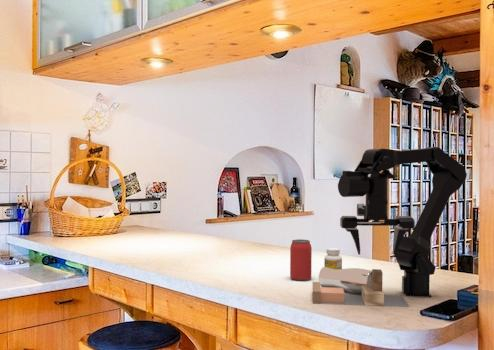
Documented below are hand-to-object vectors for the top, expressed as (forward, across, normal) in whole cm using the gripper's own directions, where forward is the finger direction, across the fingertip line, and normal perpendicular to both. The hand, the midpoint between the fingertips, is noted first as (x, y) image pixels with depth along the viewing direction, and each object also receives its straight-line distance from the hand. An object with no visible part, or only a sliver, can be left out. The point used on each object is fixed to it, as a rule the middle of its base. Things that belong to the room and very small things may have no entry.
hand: (376, 254), depth 141 cm
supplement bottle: (+12, +10, -23) cm, 27 cm away
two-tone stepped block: (+11, +2, +4) cm, 12 cm away
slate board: (+12, +5, +2) cm, 13 cm away
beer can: (+12, +20, -23) cm, 33 cm away
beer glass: (+9, +13, -12) cm, 20 cm away
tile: (+11, +12, +3) cm, 17 cm away
